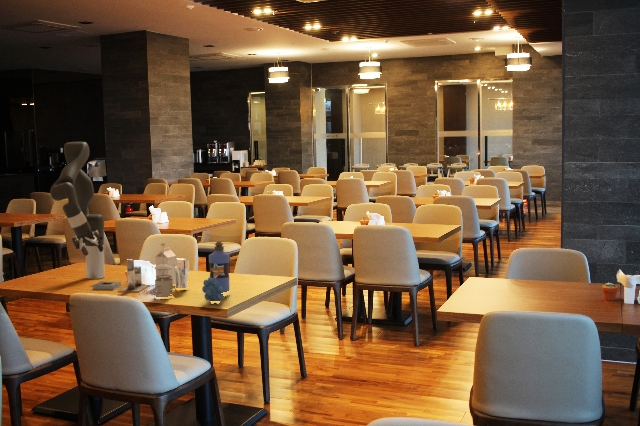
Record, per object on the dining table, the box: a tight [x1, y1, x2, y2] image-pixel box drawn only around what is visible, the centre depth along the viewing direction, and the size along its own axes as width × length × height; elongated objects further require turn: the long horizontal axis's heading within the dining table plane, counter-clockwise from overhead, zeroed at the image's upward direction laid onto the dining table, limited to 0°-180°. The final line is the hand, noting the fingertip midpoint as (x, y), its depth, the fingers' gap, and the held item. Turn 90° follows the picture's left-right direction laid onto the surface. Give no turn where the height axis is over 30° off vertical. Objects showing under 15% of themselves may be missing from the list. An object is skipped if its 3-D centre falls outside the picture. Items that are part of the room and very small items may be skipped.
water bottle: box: [208, 241, 230, 292], centre depth 326 cm, size 9×9×25 cm
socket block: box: [92, 280, 122, 291], centre depth 341 cm, size 10×10×3 cm
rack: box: [117, 283, 151, 294], centre depth 339 cm, size 18×10×2 cm, turn 175°
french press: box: [154, 242, 174, 297], centre depth 324 cm, size 10×12×25 cm
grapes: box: [201, 276, 225, 302], centre depth 307 cm, size 12×7×12 cm, turn 58°
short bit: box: [134, 266, 143, 286], centre depth 343 cm, size 3×3×9 cm
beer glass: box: [174, 257, 190, 289], centre depth 340 cm, size 7×7×15 cm
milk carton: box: [155, 246, 177, 286], centre depth 348 cm, size 7×7×19 cm
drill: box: [126, 258, 135, 290], centre depth 334 cm, size 3×3×14 cm
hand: (94, 253), depth 335 cm, fingers open, 8 cm apart
